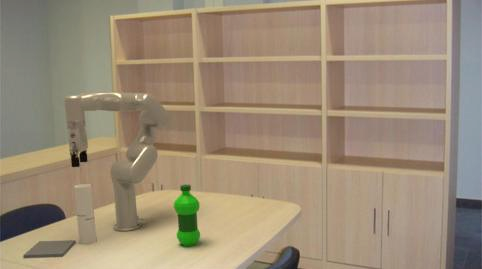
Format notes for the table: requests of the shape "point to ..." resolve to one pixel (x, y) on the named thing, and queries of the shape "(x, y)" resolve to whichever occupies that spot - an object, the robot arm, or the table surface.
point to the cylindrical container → (85, 213)
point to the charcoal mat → (50, 249)
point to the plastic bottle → (187, 217)
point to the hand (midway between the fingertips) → (79, 164)
